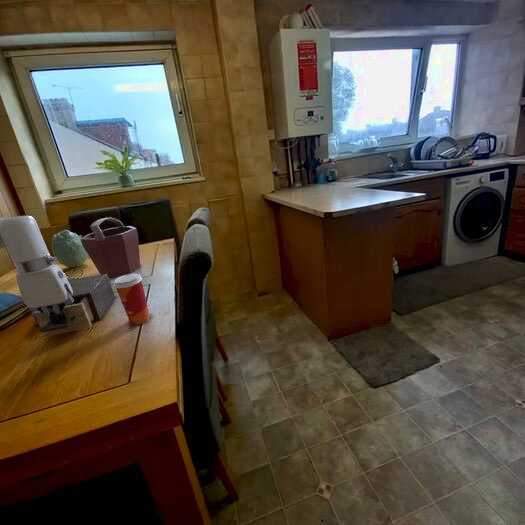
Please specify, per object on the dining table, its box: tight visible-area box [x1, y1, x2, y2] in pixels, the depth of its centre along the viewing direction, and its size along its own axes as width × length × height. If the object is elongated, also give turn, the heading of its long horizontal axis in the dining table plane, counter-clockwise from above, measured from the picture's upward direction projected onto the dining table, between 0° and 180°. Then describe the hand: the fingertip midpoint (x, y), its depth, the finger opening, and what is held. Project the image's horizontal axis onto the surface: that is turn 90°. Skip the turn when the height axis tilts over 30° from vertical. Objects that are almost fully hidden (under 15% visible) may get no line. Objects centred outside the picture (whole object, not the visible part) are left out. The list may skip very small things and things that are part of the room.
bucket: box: [80, 216, 141, 278], centre depth 128 cm, size 24×22×25 cm
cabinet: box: [67, 274, 116, 322], centre depth 93 cm, size 17×14×10 cm
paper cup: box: [113, 273, 151, 326], centre depth 82 cm, size 8×8×14 cm
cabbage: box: [51, 229, 90, 268], centre depth 144 cm, size 16×19×20 cm
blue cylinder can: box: [31, 311, 40, 327], centre depth 91 cm, size 6×6×4 cm
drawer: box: [34, 295, 96, 338], centre depth 84 cm, size 20×12×8 cm, turn 12°
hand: (61, 325), depth 78 cm, fingers closed
